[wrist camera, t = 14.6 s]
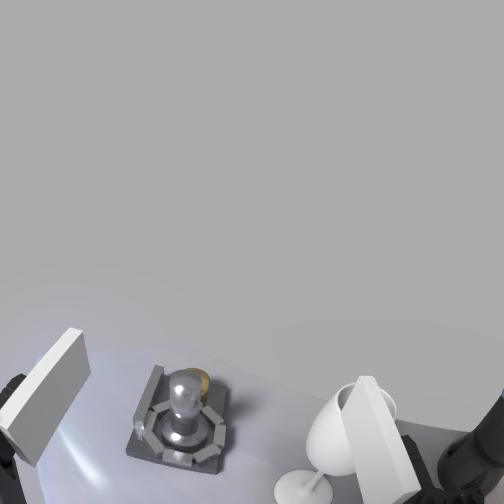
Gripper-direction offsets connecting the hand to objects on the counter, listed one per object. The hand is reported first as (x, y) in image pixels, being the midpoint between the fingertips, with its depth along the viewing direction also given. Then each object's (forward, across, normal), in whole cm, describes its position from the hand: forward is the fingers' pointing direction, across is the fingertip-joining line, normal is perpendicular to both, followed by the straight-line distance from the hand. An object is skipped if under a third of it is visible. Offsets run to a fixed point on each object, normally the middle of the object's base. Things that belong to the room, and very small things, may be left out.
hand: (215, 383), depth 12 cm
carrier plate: (+19, -5, -30) cm, 36 cm away
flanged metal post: (+16, -4, -28) cm, 33 cm away
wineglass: (+8, +14, -30) cm, 34 cm away
